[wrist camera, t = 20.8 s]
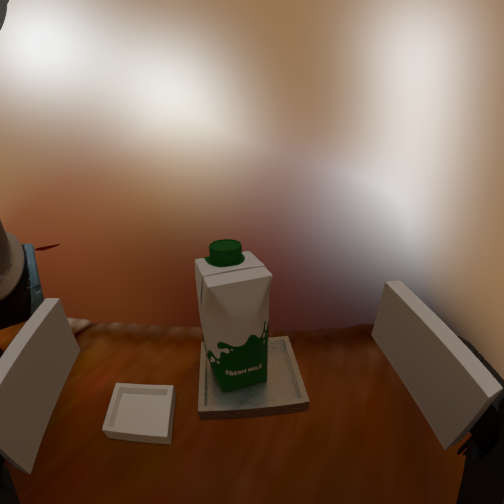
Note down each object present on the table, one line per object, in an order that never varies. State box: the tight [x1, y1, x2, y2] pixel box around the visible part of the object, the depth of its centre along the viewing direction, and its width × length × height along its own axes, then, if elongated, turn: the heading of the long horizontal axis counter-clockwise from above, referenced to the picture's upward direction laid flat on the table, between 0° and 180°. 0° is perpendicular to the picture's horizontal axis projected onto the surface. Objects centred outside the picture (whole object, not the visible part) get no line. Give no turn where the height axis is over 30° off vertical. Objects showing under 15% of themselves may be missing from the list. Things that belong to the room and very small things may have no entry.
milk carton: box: [195, 239, 273, 392], centre depth 37 cm, size 9×9×20 cm
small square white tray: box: [102, 383, 176, 444], centre depth 31 cm, size 9×9×2 cm
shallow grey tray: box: [198, 336, 310, 420], centre depth 39 cm, size 15×15×2 cm
